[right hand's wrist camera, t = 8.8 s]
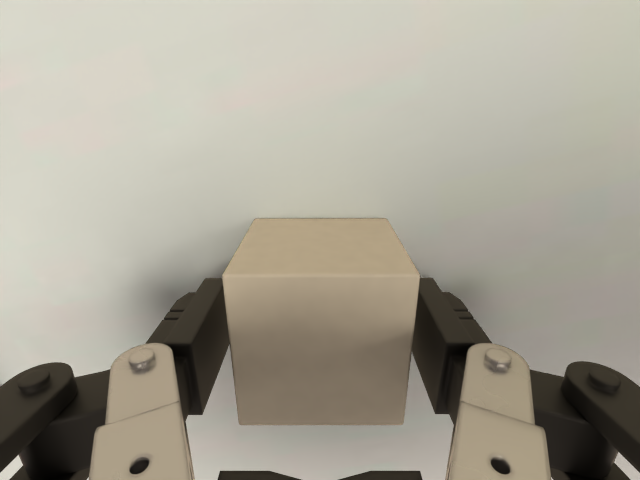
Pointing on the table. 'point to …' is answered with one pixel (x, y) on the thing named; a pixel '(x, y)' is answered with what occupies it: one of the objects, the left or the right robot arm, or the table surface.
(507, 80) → the table surface
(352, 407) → the beige cube
